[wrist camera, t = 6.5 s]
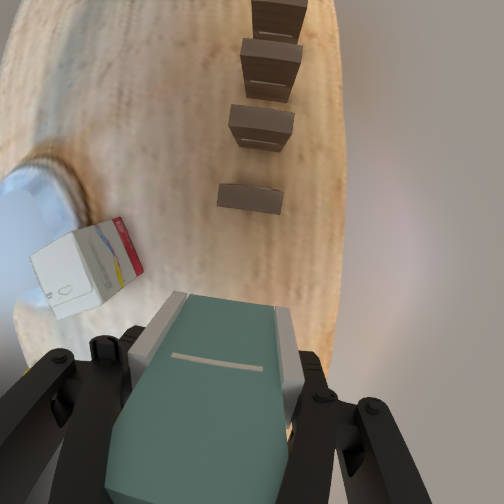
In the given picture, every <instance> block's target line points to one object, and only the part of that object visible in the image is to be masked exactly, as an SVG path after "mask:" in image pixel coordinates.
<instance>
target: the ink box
mask: <svg viewBox="0 0 504 504" xmlns="http://www.w3.org/2000/svg"><path fill="white" fill-rule="evenodd" d="M29 258H30V261H31V263H32V267H33V269H34V272H35V275H36V277H37V280H38V282H39V284H40V287H41V289H42V291H43V293H44V296H45V298H46V300H47V302H48V305H49V307H50V309H51V311H52V313H53V315H54V317H55V319H56V320H57V321H58V320H61V319H64V318H67V317H70V316H73V315H75V314H78V313H81V312H84V311H87V310H90V309H93V308H95V307H98V306H101V305H103V304H104V303H105V302H106V301H108V300H109V299H110V298H111V297H112V296H114V295H115V294H116V293H117V292H119V291H120V290H121V289H122V288H124V287H125V286H126V285H127V284H129V283H130V282H131V281H133V280H134V279H135V278H136V277H138V276H139V275H140V274H142V273H143V268H142V266H141V263H140V261H139V259H138V256H137V254H136V252H135V249H134V247H133V245H132V242H131V240H130V238H129V235H128V233H127V230H126V228H125V226H124V224H123V222H122V219H121V218H120V217H118V218H115V219H112V220H108V221H105V222H102V223H98V224H95V225H92V226H88V227H85V228H82V229H79V230H75V231H71V232H69V233H67V234H66V235H64V236H62V237H60V238H59V239H57V240H55V241H53V242H52V243H50V244H48V245H47V246H45V247H44V248H42V249H40V250H39V251H37V252H36V253H34V254H32V255H31V256H30V257H29Z"/></svg>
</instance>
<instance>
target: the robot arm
mask: <svg viewBox="0 0 504 504" xmlns="http://www.w3.org/2000/svg"><path fill="white" fill-rule="evenodd" d="M186 297H187V293H183V292H177V291H173V293H172V294H171V295H170V297H169V298H168V299H167V301H166V302H165V303H164V304H163V306H162V307H161V308H160V310H159V311H158V312H157V314H156V315H155V316H154V318H153V319H152V320H151V321H150V323H149V324H148V325H147V327H141V326H137V325H135V326H133V327H131V328H129V329H127V330H126V332H125V333H124V334H123V336H121V338H120V339H117V338H116V337H113V336H109V335H102V336H97V337H95V338H93V339H91V341H90V342H89V344H90V351H91V357H92V360H91V361H79V360H75V359H74V354H73V353H72V352H71V351H69V350H68V349H63V348H57V349H53V350H51V351H49V352H48V353H46V354H45V355H44V356H43V357H42V358H41V359H40V360H39V361H38V362H37V363H36V364H35V365H34V366H33V367H32V368H31V369H30V370H29V371H27V372H26V373H25V374H24V375H23V376H22V377H21V378H20V379H19V380H18V381H17V382H16V383H15V384H14V385H13V386H12V387H11V388H10V389H9V390H8V391H7V392H6V393H5V394H4V395H3V396H2V397H1V398H0V504H24V502H25V501H26V499H27V497H28V495H29V494H30V492H31V490H32V489H33V487H34V485H35V484H36V482H37V480H38V479H39V477H40V475H41V473H42V472H43V470H44V469H45V467H46V466H47V464H48V462H49V461H50V459H51V457H52V456H53V454H54V452H55V451H56V450H57V448H58V447H59V445H60V443H61V442H62V440H63V439H64V441H63V444H62V448H61V451H60V455H59V459H58V462H57V466H56V470H55V475H54V479H53V483H52V488H51V493H50V498H49V502H48V504H114V503H113V501H112V500H111V498H110V496H109V494H108V492H107V490H106V489H105V479H106V470H107V462H108V455H109V448H110V441H111V435H112V429H113V425H114V423H115V422H116V420H117V418H118V416H119V414H120V413H121V411H122V409H123V407H124V405H125V404H126V402H127V400H128V398H129V397H130V395H131V393H132V391H133V390H134V388H135V386H136V384H137V383H138V381H139V379H140V377H141V376H142V374H143V372H144V370H145V369H146V368H147V367H148V365H149V364H150V362H151V360H152V358H153V357H154V355H155V353H156V352H157V350H158V348H159V346H160V345H161V343H162V341H163V340H164V338H165V336H166V334H167V333H168V331H169V329H170V328H171V326H172V324H173V323H174V321H175V319H176V318H177V316H178V314H179V313H180V311H181V309H182V308H183V306H184V304H185V303H186ZM274 321H275V331H276V340H277V351H278V361H279V371H280V382H281V390H282V393H283V404H284V414H285V425H286V429H289V427H290V424H291V421H292V428H293V429H292V431H291V434H290V437H289V439H288V442H287V447H288V461H287V465H286V468H285V472H284V475H283V479H282V482H281V486H280V489H279V492H278V496H277V499H276V502H275V504H328V500H329V494H330V486H331V479H332V470H333V461H334V452H335V449H336V451H337V455H338V459H339V464H340V468H341V473H342V477H343V481H344V486H345V491H346V495H347V500H348V504H432V502H431V500H430V497H429V495H428V493H427V490H426V488H425V486H424V483H423V481H422V479H421V476H420V474H419V472H418V469H417V467H416V465H415V463H414V461H413V458H412V456H411V454H410V452H409V450H408V448H407V445H406V443H405V441H404V439H403V437H402V435H401V433H400V431H399V429H398V426H397V424H396V422H395V420H394V418H393V416H392V414H391V412H390V410H389V408H388V406H387V405H386V404H385V403H384V402H383V401H381V400H380V399H377V398H373V397H367V398H363V399H361V400H359V402H358V404H357V405H355V404H351V403H346V402H343V401H340V400H338V396H337V394H336V393H335V392H334V391H332V390H331V389H329V388H328V385H327V382H326V379H325V375H324V372H323V369H322V366H321V363H320V360H319V357H318V356H317V355H316V354H315V353H314V352H311V351H299V350H298V347H297V342H296V338H295V333H294V329H293V324H292V320H291V315H290V311H289V308H285V307H277V306H275V311H274ZM53 396H54V397H53Z"/></svg>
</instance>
